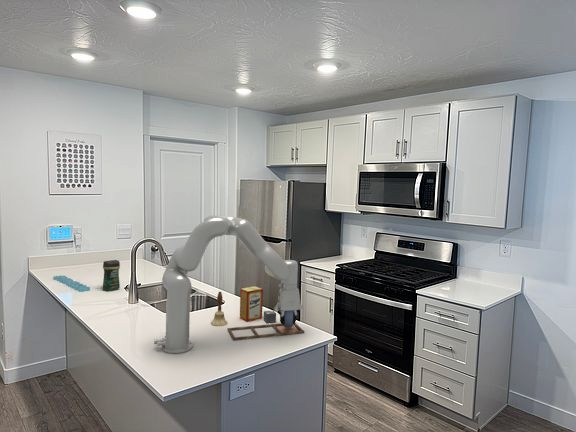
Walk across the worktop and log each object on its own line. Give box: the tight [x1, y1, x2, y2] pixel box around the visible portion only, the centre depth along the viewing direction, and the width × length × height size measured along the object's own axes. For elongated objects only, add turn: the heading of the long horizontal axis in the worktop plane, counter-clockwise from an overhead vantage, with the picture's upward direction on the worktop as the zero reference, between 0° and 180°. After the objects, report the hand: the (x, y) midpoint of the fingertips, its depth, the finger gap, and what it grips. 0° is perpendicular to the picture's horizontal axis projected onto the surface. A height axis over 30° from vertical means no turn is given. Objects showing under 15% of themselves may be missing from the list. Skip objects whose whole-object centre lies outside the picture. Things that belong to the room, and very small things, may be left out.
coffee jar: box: [102, 259, 121, 292], centre depth 252 cm, size 10×8×19 cm
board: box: [227, 322, 305, 341], centre depth 190 cm, size 34×13×1 cm, turn 110°
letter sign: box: [52, 275, 91, 293], centre depth 262 cm, size 45×6×2 cm, turn 49°
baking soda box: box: [239, 285, 264, 323], centre depth 208 cm, size 10×6×16 cm
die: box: [263, 309, 277, 325], centre depth 204 cm, size 5×5×5 cm
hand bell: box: [210, 291, 228, 327], centre depth 199 cm, size 8×8×16 cm
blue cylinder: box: [283, 310, 294, 328], centre depth 193 cm, size 5×5×8 cm
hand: (287, 322), depth 194 cm, fingers closed on blue cylinder, 5 cm apart
